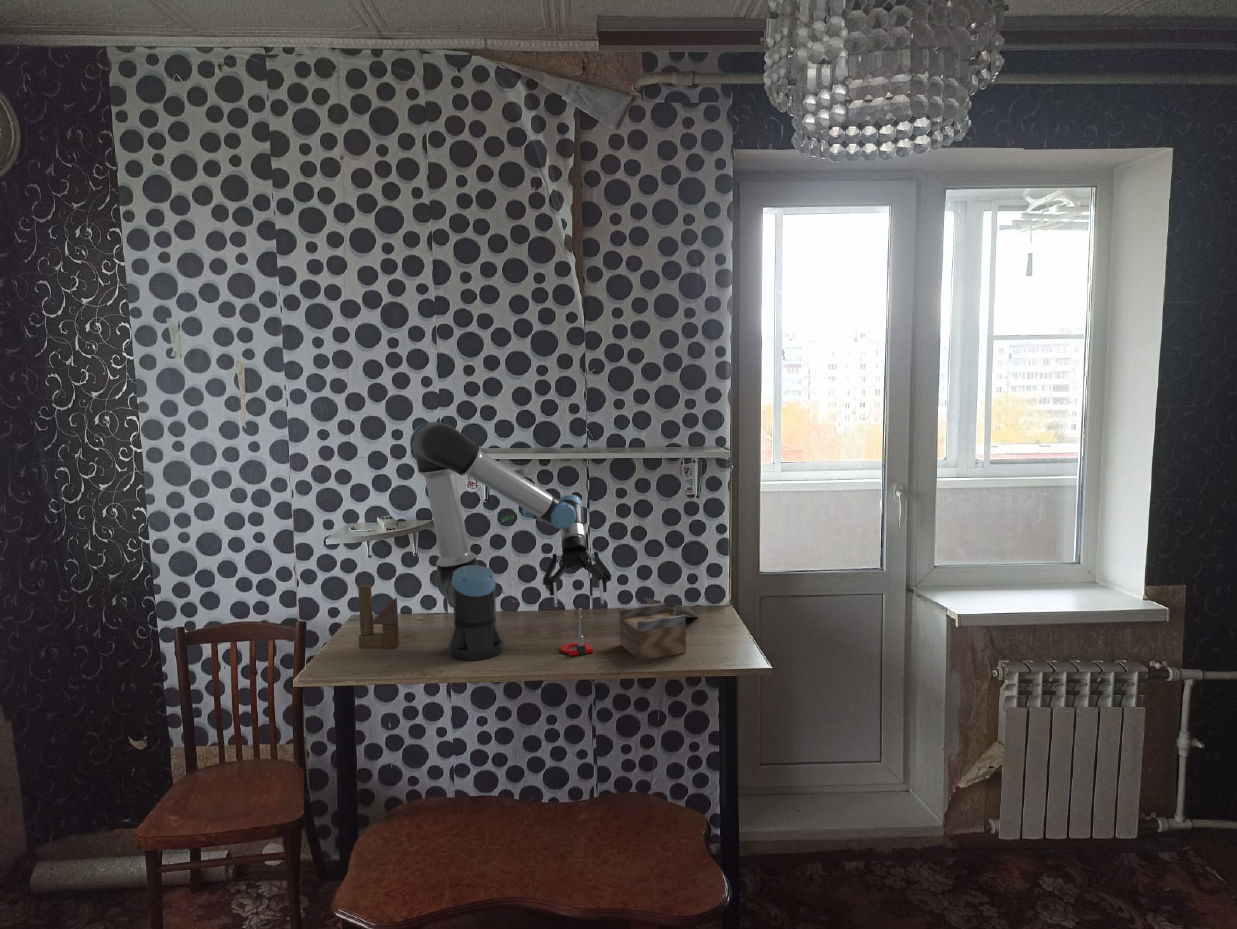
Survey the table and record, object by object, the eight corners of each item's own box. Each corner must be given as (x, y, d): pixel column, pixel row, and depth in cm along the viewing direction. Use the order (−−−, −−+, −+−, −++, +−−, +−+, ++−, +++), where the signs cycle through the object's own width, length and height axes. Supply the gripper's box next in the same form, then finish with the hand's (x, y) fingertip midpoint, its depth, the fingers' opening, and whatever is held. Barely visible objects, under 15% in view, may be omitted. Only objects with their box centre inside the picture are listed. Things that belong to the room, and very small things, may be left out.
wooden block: (395, 649, 226) (392, 587, 224) (358, 648, 227) (355, 587, 225) (399, 644, 229) (396, 584, 228) (363, 644, 230) (360, 584, 228)
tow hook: (556, 649, 224) (568, 658, 216) (554, 604, 224) (566, 611, 215) (583, 645, 228) (596, 653, 219) (582, 600, 227) (594, 607, 219)
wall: (641, 630, 251) (634, 610, 239) (650, 606, 255) (643, 585, 243) (691, 643, 246) (686, 623, 234) (699, 618, 250) (694, 597, 238)
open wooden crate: (639, 660, 213) (639, 622, 212) (620, 644, 226) (619, 609, 224) (686, 653, 218) (685, 616, 217) (664, 638, 231) (664, 603, 230)
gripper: (613, 545, 246) (621, 606, 233) (532, 549, 242) (536, 612, 229) (615, 532, 240) (623, 594, 227) (532, 536, 236) (536, 599, 223)
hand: (579, 603), depth 228 cm, fingers open, 13 cm apart
